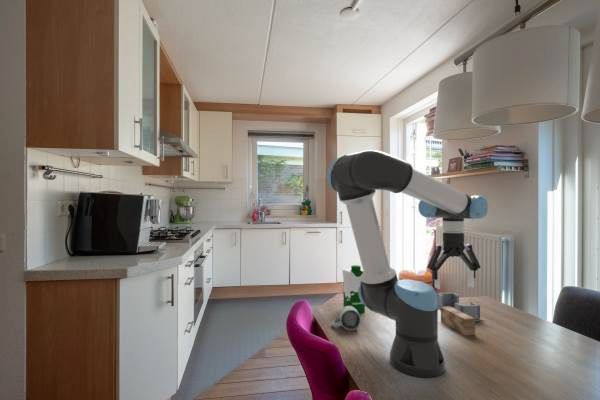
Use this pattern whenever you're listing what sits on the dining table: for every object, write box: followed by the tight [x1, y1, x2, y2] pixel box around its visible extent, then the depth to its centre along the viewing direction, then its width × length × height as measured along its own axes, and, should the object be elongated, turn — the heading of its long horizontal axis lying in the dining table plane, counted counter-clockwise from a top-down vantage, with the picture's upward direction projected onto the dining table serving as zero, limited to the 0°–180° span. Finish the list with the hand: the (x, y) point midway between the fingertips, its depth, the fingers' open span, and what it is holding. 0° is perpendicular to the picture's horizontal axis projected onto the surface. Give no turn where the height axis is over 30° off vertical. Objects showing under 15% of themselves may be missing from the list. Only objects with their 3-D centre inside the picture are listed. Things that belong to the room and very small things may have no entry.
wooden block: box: [440, 306, 476, 336], centre depth 120 cm, size 14×4×6 cm, turn 11°
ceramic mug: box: [331, 306, 362, 331], centre depth 122 cm, size 11×8×8 cm
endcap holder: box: [436, 292, 484, 322], centre depth 137 cm, size 20×10×6 cm, turn 5°
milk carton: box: [342, 264, 366, 314], centre depth 140 cm, size 9×9×20 cm
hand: (454, 287), depth 121 cm, fingers open, 13 cm apart
